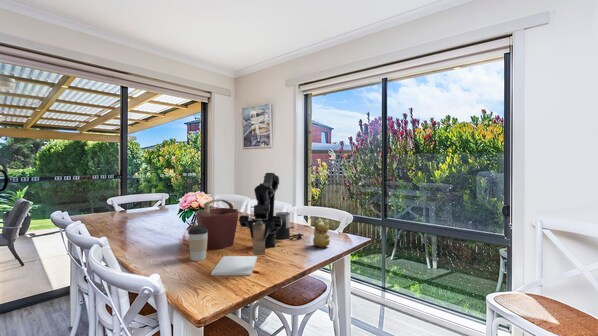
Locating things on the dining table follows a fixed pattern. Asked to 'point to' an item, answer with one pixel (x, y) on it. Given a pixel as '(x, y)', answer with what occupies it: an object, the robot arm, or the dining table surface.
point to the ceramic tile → (235, 265)
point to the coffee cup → (198, 242)
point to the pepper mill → (258, 238)
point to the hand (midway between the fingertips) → (258, 238)
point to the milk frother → (285, 227)
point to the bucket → (218, 224)
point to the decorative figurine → (321, 234)
